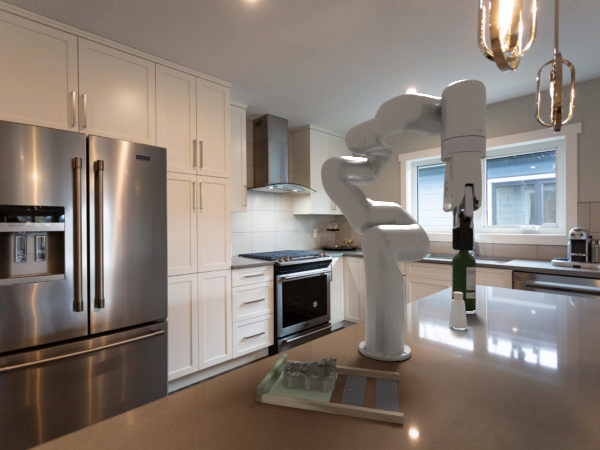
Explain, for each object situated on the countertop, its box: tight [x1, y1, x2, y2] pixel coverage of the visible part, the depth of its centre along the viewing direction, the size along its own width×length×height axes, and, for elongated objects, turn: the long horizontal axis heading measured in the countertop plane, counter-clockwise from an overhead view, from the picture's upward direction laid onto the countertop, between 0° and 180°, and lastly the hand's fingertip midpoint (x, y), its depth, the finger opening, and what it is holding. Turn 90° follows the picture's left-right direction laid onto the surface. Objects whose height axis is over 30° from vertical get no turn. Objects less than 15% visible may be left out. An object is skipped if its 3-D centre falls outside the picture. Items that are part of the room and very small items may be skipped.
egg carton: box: [282, 357, 339, 393], centre depth 65 cm, size 11×8×4 cm
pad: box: [268, 371, 339, 402], centre depth 64 cm, size 14×12×1 cm
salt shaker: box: [448, 292, 468, 328], centre depth 101 cm, size 5×5×11 cm
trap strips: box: [339, 374, 400, 413], centre depth 61 cm, size 14×10×1 cm
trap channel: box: [255, 353, 404, 425], centre depth 63 cm, size 16×25×2 cm, turn 75°
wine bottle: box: [451, 250, 477, 311], centre depth 120 cm, size 8×8×30 cm
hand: (462, 249), depth 61 cm, fingers closed
